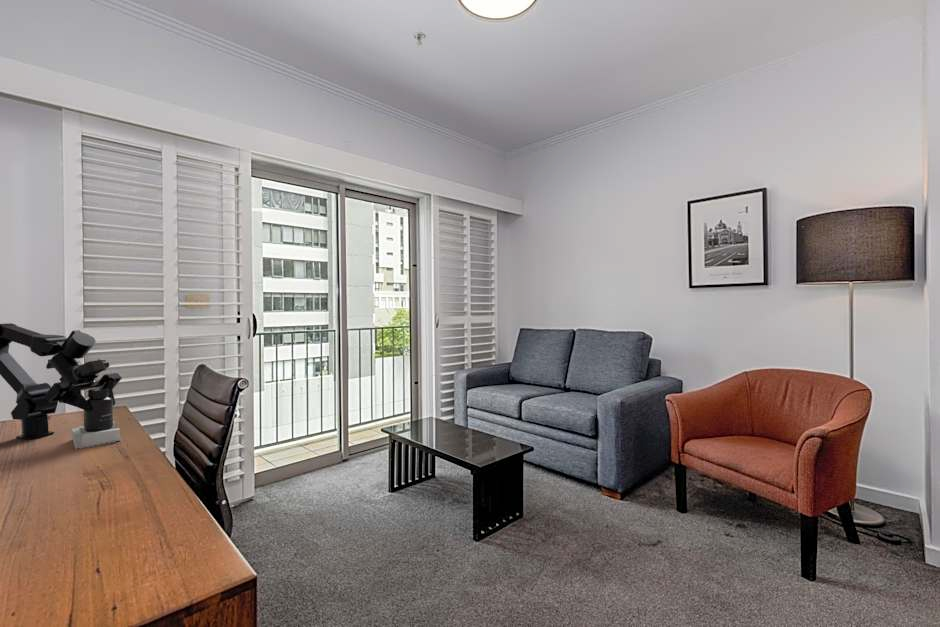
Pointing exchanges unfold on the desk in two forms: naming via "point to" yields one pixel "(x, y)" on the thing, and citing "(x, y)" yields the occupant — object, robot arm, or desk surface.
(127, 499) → the desk surface
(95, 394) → the supplement bottle
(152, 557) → the desk surface
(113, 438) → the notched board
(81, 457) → the desk surface
